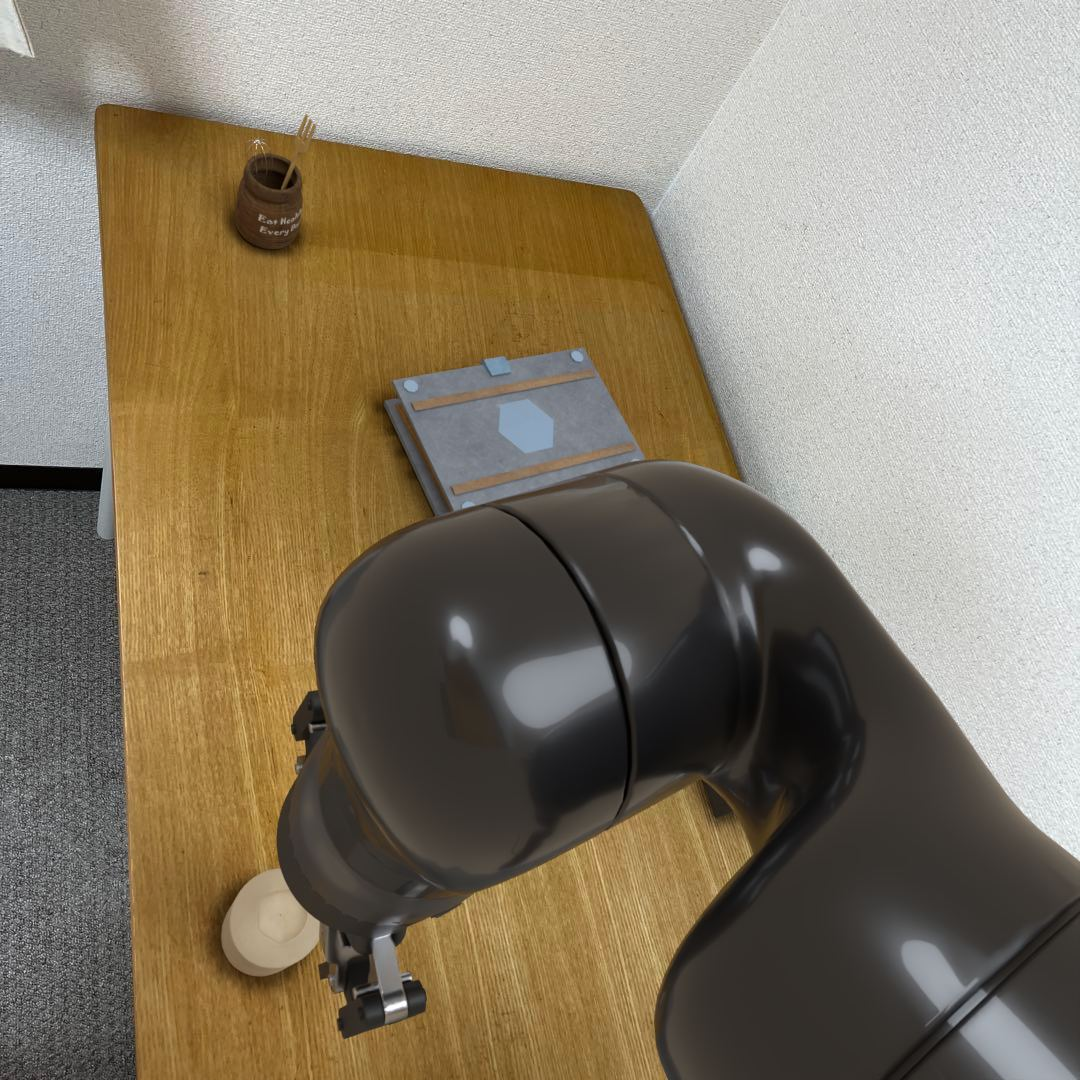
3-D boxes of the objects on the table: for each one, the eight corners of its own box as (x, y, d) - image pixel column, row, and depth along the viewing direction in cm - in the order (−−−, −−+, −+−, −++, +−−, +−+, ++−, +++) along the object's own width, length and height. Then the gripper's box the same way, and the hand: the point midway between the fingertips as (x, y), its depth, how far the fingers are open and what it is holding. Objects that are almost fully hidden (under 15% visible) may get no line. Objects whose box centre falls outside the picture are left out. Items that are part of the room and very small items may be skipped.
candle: (201, 940, 58) (210, 924, 50) (262, 870, 62) (279, 844, 54) (266, 995, 58) (284, 988, 50) (323, 922, 62) (349, 904, 53)
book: (452, 556, 78) (468, 530, 74) (381, 403, 83) (392, 370, 79) (639, 502, 89) (662, 476, 85) (566, 369, 94) (585, 338, 90)
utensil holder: (221, 215, 87) (230, 110, 77) (276, 199, 90) (291, 96, 80) (257, 259, 86) (270, 158, 76) (312, 240, 89) (331, 142, 79)
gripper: (262, 640, 33) (230, 753, 47) (325, 1065, 28) (269, 1056, 41) (451, 617, 37) (371, 729, 50) (542, 994, 31) (425, 1007, 45)
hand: (325, 877), depth 46 cm, fingers open, 8 cm apart
